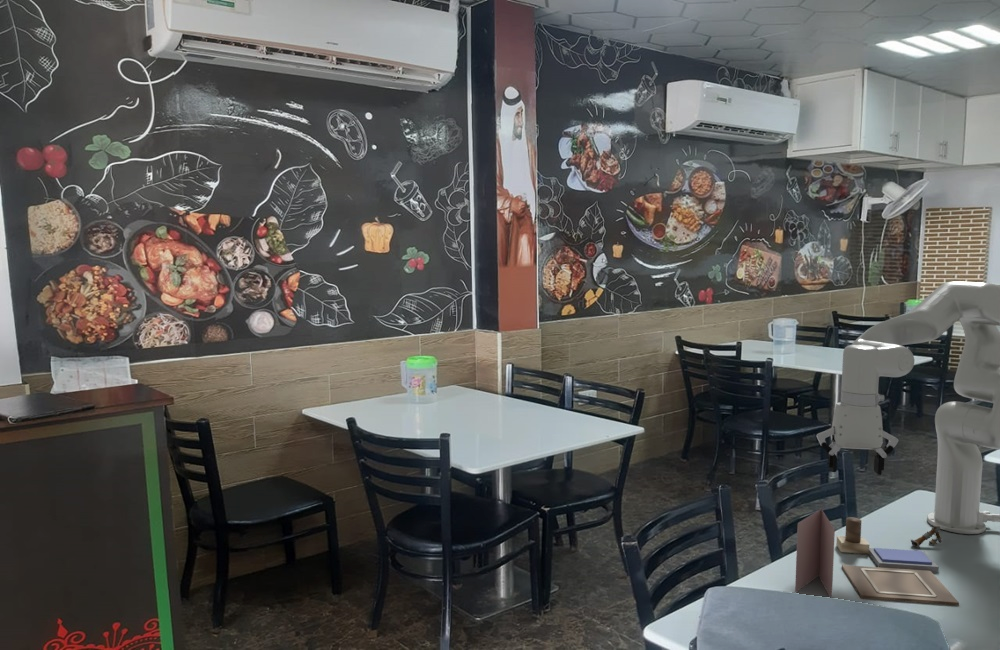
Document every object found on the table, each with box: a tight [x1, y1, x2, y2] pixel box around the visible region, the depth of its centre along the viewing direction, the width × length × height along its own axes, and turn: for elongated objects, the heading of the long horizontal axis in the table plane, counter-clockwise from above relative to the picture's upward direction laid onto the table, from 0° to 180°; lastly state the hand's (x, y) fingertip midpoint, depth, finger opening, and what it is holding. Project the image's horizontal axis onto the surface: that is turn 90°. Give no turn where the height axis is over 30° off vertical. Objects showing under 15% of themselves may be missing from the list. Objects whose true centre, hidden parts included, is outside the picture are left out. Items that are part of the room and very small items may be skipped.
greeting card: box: [794, 508, 836, 598], centre depth 148 cm, size 11×7×15 cm, turn 133°
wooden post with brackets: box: [910, 526, 943, 549], centre depth 169 cm, size 2×8×4 cm, turn 106°
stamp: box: [836, 516, 870, 556], centre depth 166 cm, size 6×4×8 cm, turn 79°
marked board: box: [841, 564, 960, 606], centre depth 149 cm, size 18×14×1 cm
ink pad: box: [868, 547, 940, 573], centre depth 160 cm, size 12×8×2 cm, turn 79°
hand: (855, 471), depth 165 cm, fingers open, 9 cm apart
